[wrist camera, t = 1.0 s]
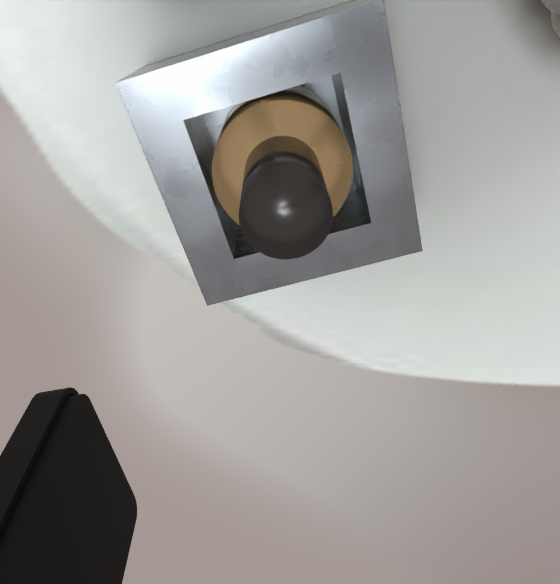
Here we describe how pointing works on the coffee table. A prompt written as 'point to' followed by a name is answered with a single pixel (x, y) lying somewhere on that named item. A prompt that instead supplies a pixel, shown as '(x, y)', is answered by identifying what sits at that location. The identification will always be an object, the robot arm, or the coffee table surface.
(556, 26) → the toy sheep
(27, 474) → the robot arm
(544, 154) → the coffee table surface
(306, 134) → the stepped cylindrical shaft
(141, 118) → the block
